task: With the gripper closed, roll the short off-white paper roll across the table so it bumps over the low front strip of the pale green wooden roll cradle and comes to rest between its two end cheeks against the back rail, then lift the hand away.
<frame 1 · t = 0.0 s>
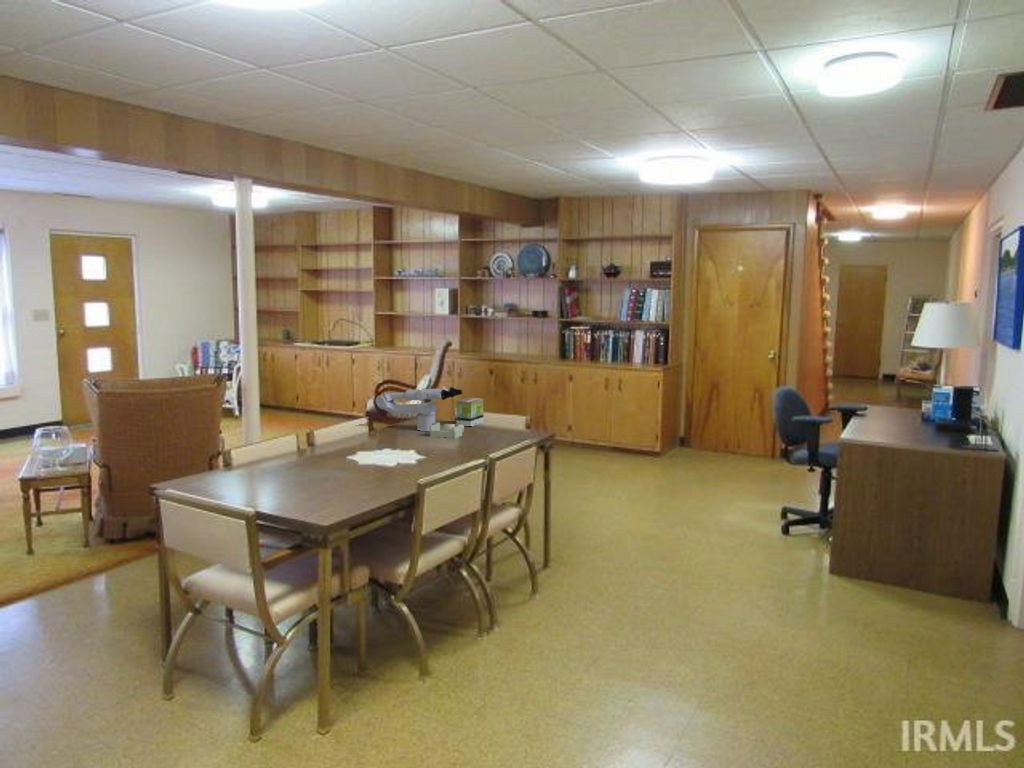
hand: (458, 393, 391), 22 cm above the table, tool horizontal, fingers open, 7 cm apart
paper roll: (453, 428, 393), point 2 cm above the table
roll cradle: (446, 436, 385), on the table
tea box: (470, 425, 417), on the table
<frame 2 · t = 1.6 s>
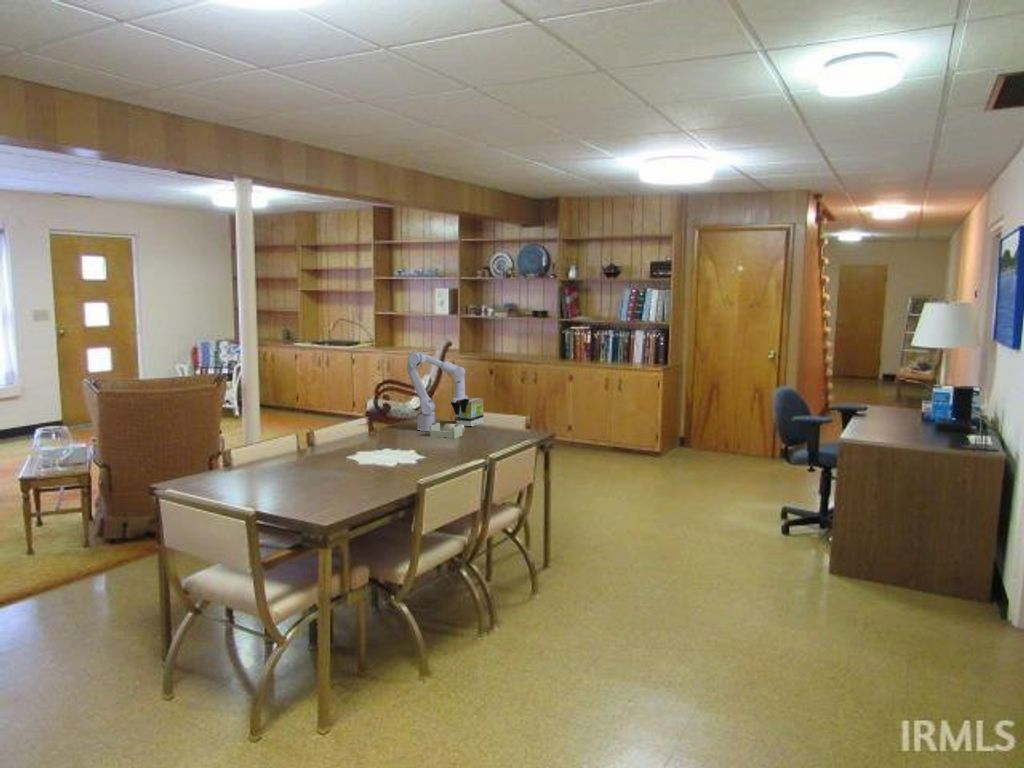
hand: (460, 413, 399), 9 cm above the table, tool pointing down, fingers open, 7 cm apart
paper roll: (454, 428, 393), point 2 cm above the table, tilted 17°
everything else where it was.
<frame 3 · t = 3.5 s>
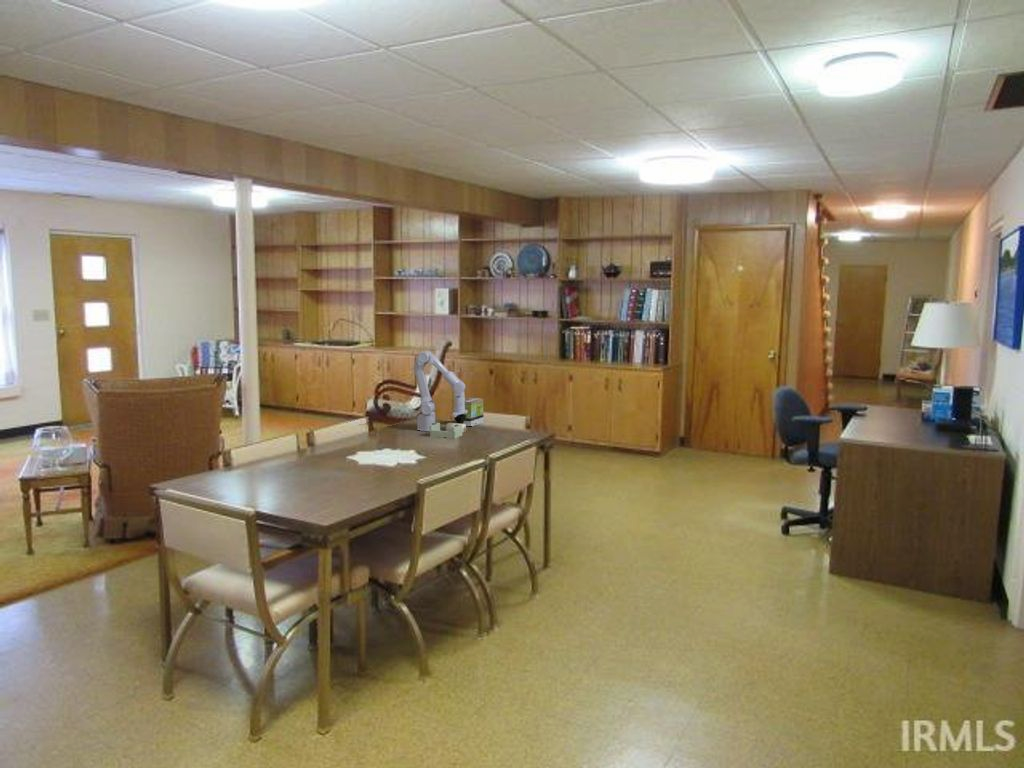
hand: (460, 428, 399), 1 cm above the table, tool pointing down, fingers closed
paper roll: (456, 427, 395), point 2 cm above the table, tilted 68°
everything else where it was.
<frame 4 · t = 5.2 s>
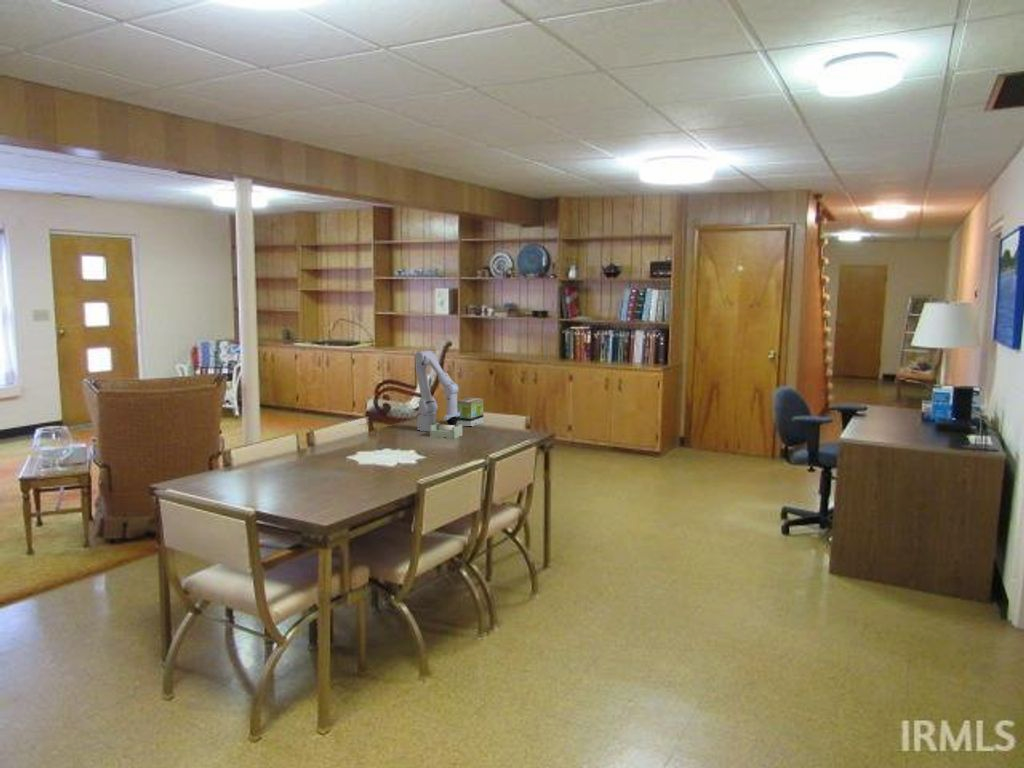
hand: (452, 431, 391), 1 cm above the table, tool pointing down, fingers closed
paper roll: (449, 429, 388), point 3 cm above the table, tilted 101°, touching roll cradle
everything else where it was.
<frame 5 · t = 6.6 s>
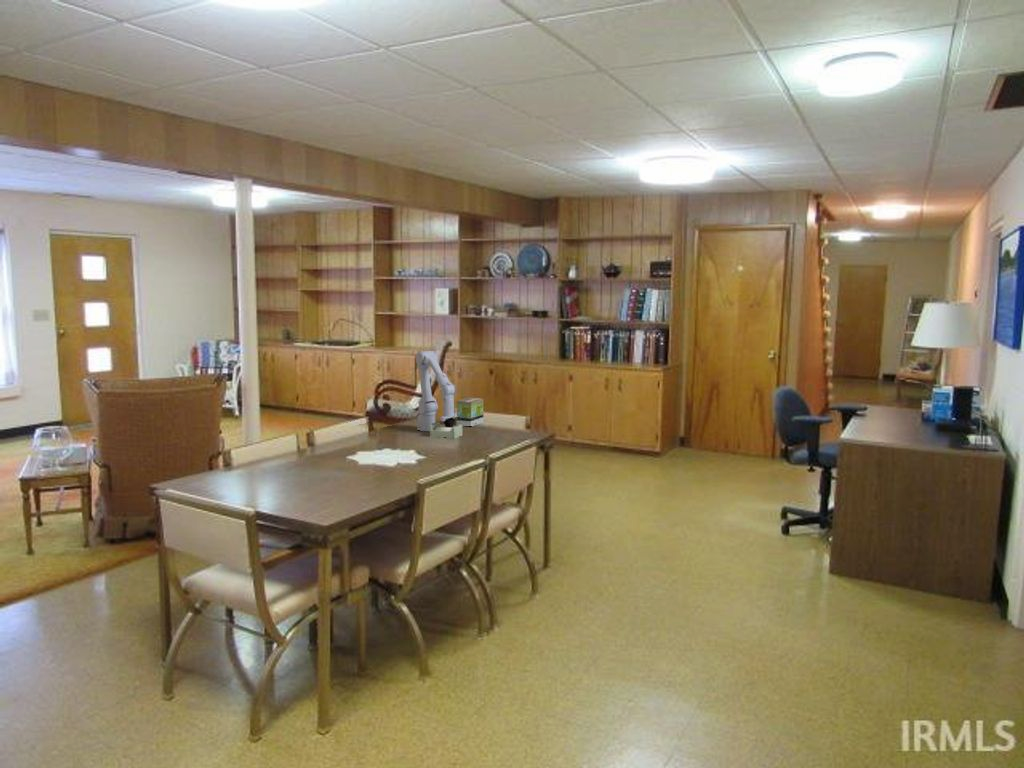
hand: (449, 432, 388), 1 cm above the table, tool pointing down, fingers closed
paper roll: (445, 432, 384), point 2 cm above the table, tilted 141°
everything else where it was.
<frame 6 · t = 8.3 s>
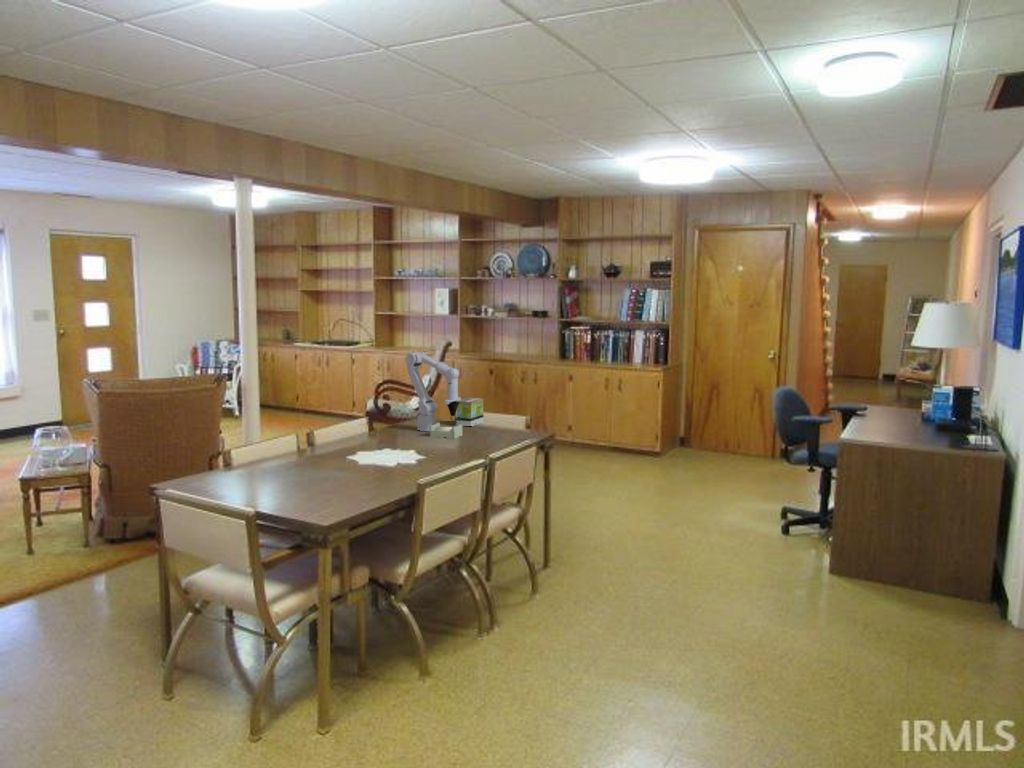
hand: (453, 415, 393), 9 cm above the table, tool pointing down, fingers closed
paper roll: (446, 431, 385), point 2 cm above the table, tilted 161°
everything else where it was.
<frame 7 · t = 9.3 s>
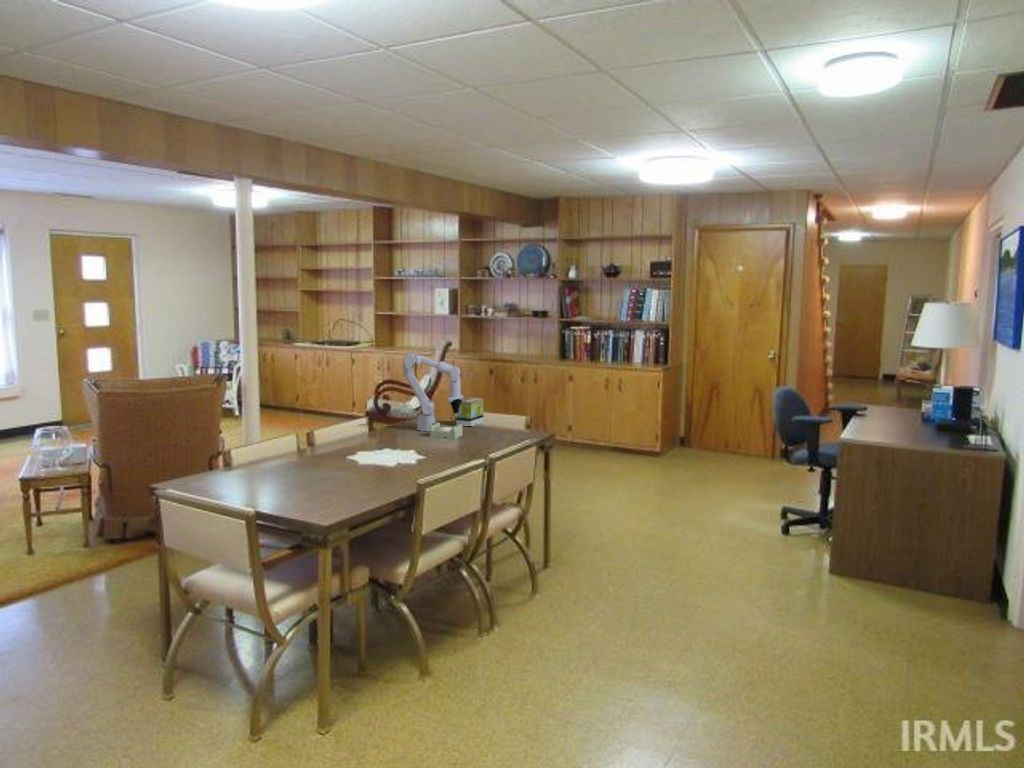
hand: (455, 413, 400), 9 cm above the table, tool pointing down, fingers closed
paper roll: (446, 431, 385), point 2 cm above the table, tilted 148°
everything else where it was.
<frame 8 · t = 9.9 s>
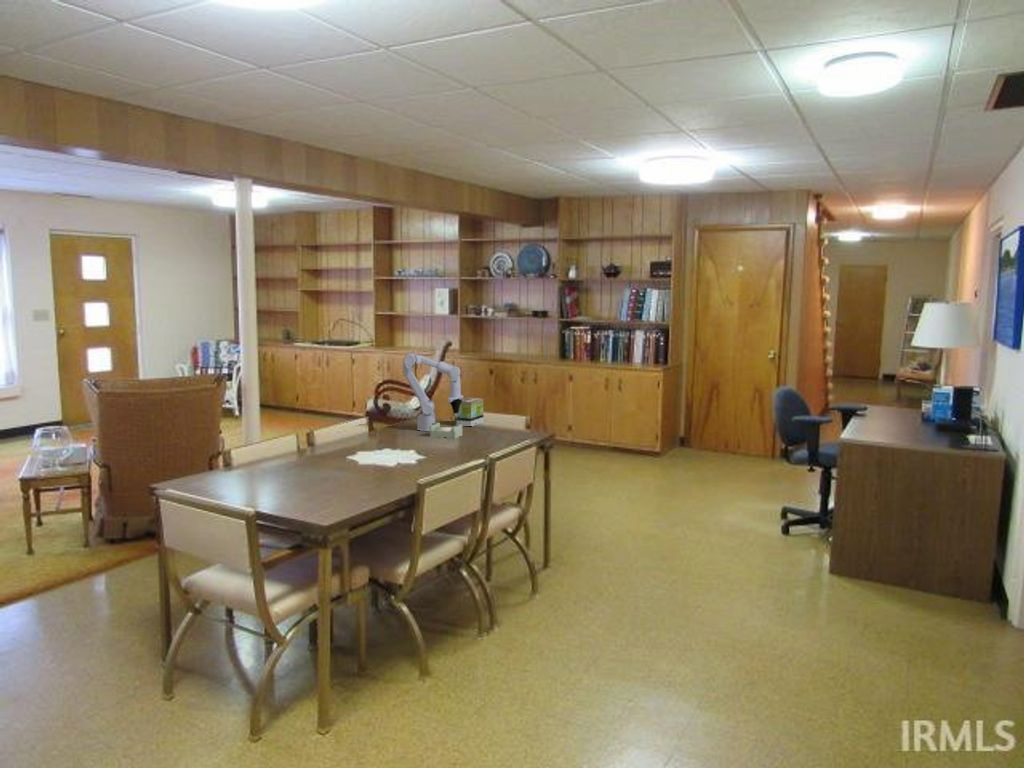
hand: (455, 413, 400), 9 cm above the table, tool pointing down, fingers closed
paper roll: (445, 432, 384), point 2 cm above the table, tilted 141°
everything else where it was.
at the end: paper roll 0.2 cm off-centre on the roll cradle, point 2.3 cm above the roll cradle's base; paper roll moved 8.9 cm from its start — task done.
